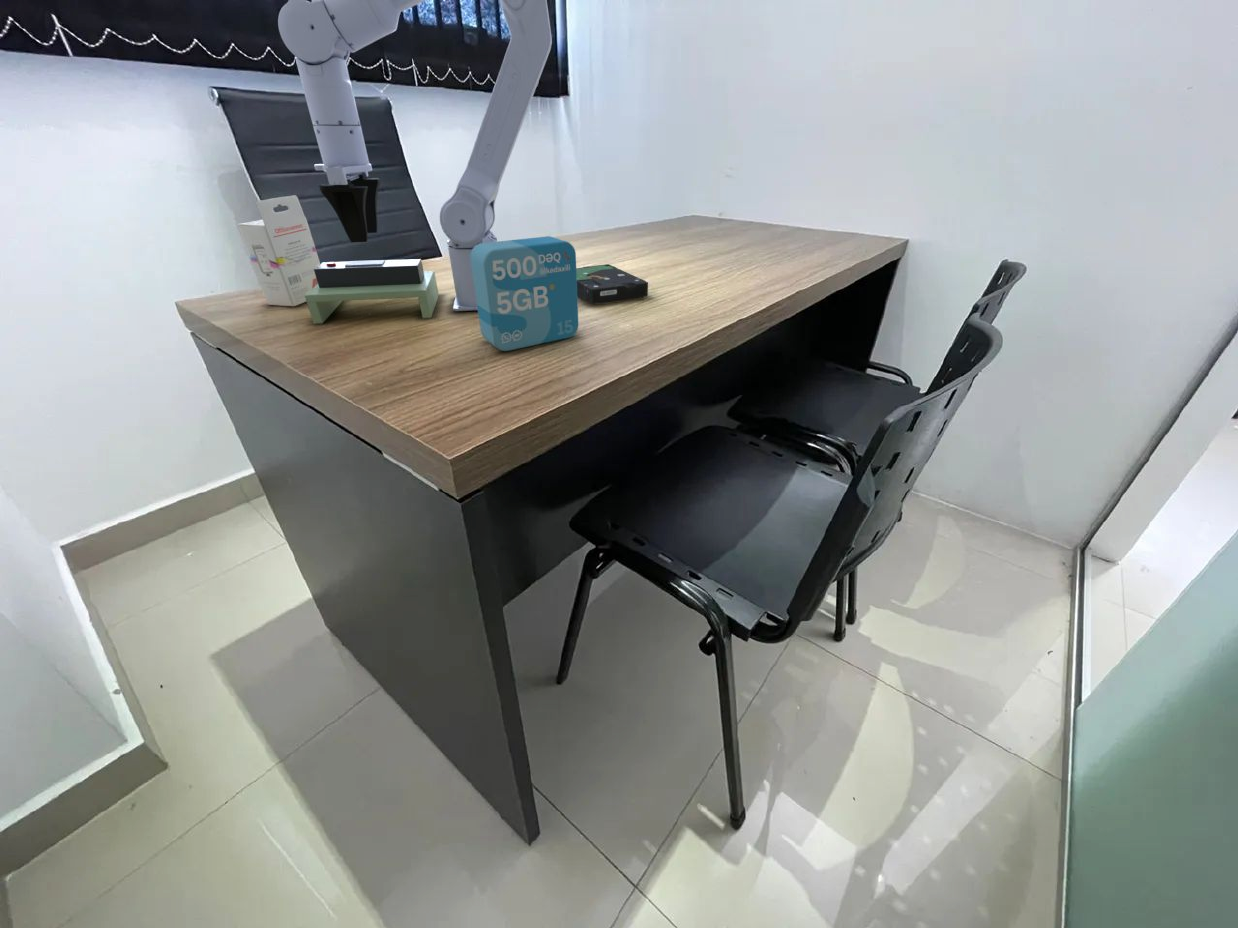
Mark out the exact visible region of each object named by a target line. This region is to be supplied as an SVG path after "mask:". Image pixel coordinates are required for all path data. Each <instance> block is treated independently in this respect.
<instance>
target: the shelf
mask: <svg viewBox="0 0 1238 928" xmlns="http://www.w3.org/2000/svg"><path fill="white" fill-rule="evenodd" d="M423 271H424V278H423V280H422V282H421V284H403V285H379V286H355V287H331V288H319V285H318V284H317V285H316V286H315V287H314V288H312V289H311V290H310V291H309V292H308V293H307V294H306V295H305V299H306V302H305V303H306V304H307V308H308V310H309V313H310V316H311V320H312V323H313V324H314V325H316V324H317V325H318V324H324V322H326V320H327V319H328V318H329V317H330V316H331V315H332V314H333V312H335V310H336V309H337V308H338V307H339V306H340V304H342V302H347V301H348V302H350V301H351V302H352V301H369V300H370V301H371V300H390V299H416V298H418V302H419V306H420V311H421V312H420V313H421V317H422V319H431V318H432V316H433V313H434V310H435V307H436V305H437V302H438V299H439V296H440V294H439V289H438V284H437V278H436V273H435V270H423Z"/></svg>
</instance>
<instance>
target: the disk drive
mask: <svg viewBox="0 0 1238 928" xmlns="http://www.w3.org/2000/svg"><path fill="white" fill-rule="evenodd" d="M576 273H577V297H578V298H581V299H582V300H584V301H586V302H587V303H590V304H591V305H598V304H599V305H601V304H609V303H618V302H619V303H620V302H625V301H631V300H638V299H641V298H642V299H644V298H647V297H648V296H649V282H648V281H646V280H645V279H643V278H640V277H638V276H636V275H633V274H632V273H630V272H627V271H624V270H622V269H620V268H618V267H616V266H615V265H612V264H609V263H607V264H598V265H591V266H590V265H587V266H582V267H576Z"/></svg>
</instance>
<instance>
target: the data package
mask: <svg viewBox="0 0 1238 928" xmlns="http://www.w3.org/2000/svg"><path fill="white" fill-rule="evenodd" d="M576 253H577V252H576V249H575V247H574V246H573V244H572V243H571V242H569V241H566V240H562V239H559V238H557V237H554V236H550V235H545V236H538V237H529V238H520V239H519V238H518V239H510V240H501V241H497V242H489V243H481V244H478V245H476V246H475V247H474V248H473V250H472V252H471V255H470V260H471V267H472V274H473V281H474V288H475V294H476V301H477V308H478V310H477V315H478V321H479V327H480V328H479V329H480V333H481V336H482V338H483V339H485V340H486V341H487V342H488V343H490V344H491V345H492V346H494V347H495V348H496V349H498V350H499V351H502V352H509V351H510V352H511V351H515V350H519V349H524V348H528V347H533V346H538V345H542V344H547V343H552V342H556V341H562V340H565V339H570V338H571V337H573V336H574V335H576V333H577V331H578V329H579V306H578V305H579V304H578V303H579V300H578V296H577V273H576V268H577V254H576Z"/></svg>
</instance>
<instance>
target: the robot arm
mask: <svg viewBox="0 0 1238 928" xmlns="http://www.w3.org/2000/svg"><path fill="white" fill-rule="evenodd" d="M426 1H427V0H311V1H309V0H288V1H287V2H286V3H284V5H283V6H282V7H281V8H280V11H279V12H278V17H277V26H278V32H279V35H280V38H281V40H282V42H283V43H284V45H285V47H286V48H287V49H288V50H289V52H291V54H293V56H294V59H295V62H296V66H297V67H296V68H297V70H298V74H299V77H300V83H301V86H302V89H303V93H304V97H305V100H306V105H307V108H308V112H309V116H310V120H311V123H312V127H313V131H314V134H315V138H316V142H317V146H318V149H319V153H320V157H321V160H322V163H315V164H314V165H313V166H314V170H315V171H321V172H324V173H326V177H327V181H328V183H324V184H323V183H322V184H320V185H318V188H319V191H320V193H321V195H323V196H324V198H325V199H326V200H327V202H328V203H329V204H330V205H331V207H332V209H333V210H334V212H335V213H336V215H337V217H338V219H339V222H340V223H341V225H342V227H343V229H344V232H345V233H346V236H347V238H348V239H349V241H350V243H367V242H368V238H369V237H368V236H369V235H368V234H377V233H378V194H379V190H380V189H379V188H380V185H381V180H380V178H379V177H369V172H372V171H373V167H372V163H370V160H369V156H368V152H367V147H366V143H365V138H364V133H363V129H362V125H361V121H360V117H359V111H358V108H357V107H358V106H357V104H356V103H357V102H356V99H355V95H354V90H353V86H352V85H353V84H352V82H351V79H350V78H351V77H350V74H349V69H348V65H347V63H348V60H349V58H350V54H351V53H356V52H357V51H359V50H361V49H364V48H365V47H367V46H369V45H371V44H373V43H374V42H376V41H378V40H381V39H383V38H384V37H386V36H389V35H391V34H392V33H394V32H396V31H397V29H398V24H399V20H400V19H399V18H400V15H401V14H402V13H401V12H404V11H406V10H408V9H411V8H413V7H415V6H417V5H419V4H421V3H424V2H426ZM498 1H499V4H500V9H501V11H502V14H503V16H504V19H505V22H506V26H507V28H508V31H509V35H510V40H509V43H508V45H507V48H506V52H505V54H504V57H503V60H502V63H501V66H500V69H499V72H498V75H497V78H496V81H495V83H494V87H493V89H492V92H491V95H490V98H489V101H488V103H487V106H486V109H485V113H484V116H483V118H482V121H481V124H480V127H479V130H478V133H477V136H476V139H475V141H474V145H473V148H472V151H471V153H470V156H469V159H468V162H467V165H466V167H465V169H464V171H463V173H462V175H461V177H460V179H459V181H458V183H457V184H456V185H457V186H456V189H455V191H454V193H453V194H452V196H451V197H449V198H448V199H447V200H446V201H445V202H444V203H443V205H442V206H441V208H440V212H439V224H440V226H441V227H440V228H441V229H442V231H443V233H444V235H445V236H446V237H447V238H448V239H447V240H446V244H447V250H448V256H449V262H450V267H451V273H452V278H453V285H454V291H455V299H454V302H453V305H452V311H454V312H467V311H468V312H469V311H478V308H477V301H476V294H475V288H474V281H473V274H472V267H471V260H470V255H471V252H472V250H473V248H474V247H475V246H476V245H478V244H481V243H489V242H498V237H496V235H495V234H494V233H493V231H491V229H492V228H493V226H494V223H495V221H496V212H495V203H496V200H497V197H498V195H499V194H498V193H499V190H500V185H501V181H502V179H503V176H504V173H505V171H506V169H507V166H508V162H509V160H510V158H511V155H512V152H513V150H514V147H515V144H516V142H517V140H518V137H519V134H520V131H521V129H522V126H523V125H524V121H525V118H526V115H527V113H528V111H529V108H530V104H531V103H532V100H533V97H534V94H535V92H536V89H537V86H538V84H539V81H540V79H541V76H542V73H543V71H544V68H545V65H546V63H547V60H548V57H549V54H550V52H551V49H552V44H553V39H552V30H551V21H550V15H549V8H548V0H498Z"/></svg>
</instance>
